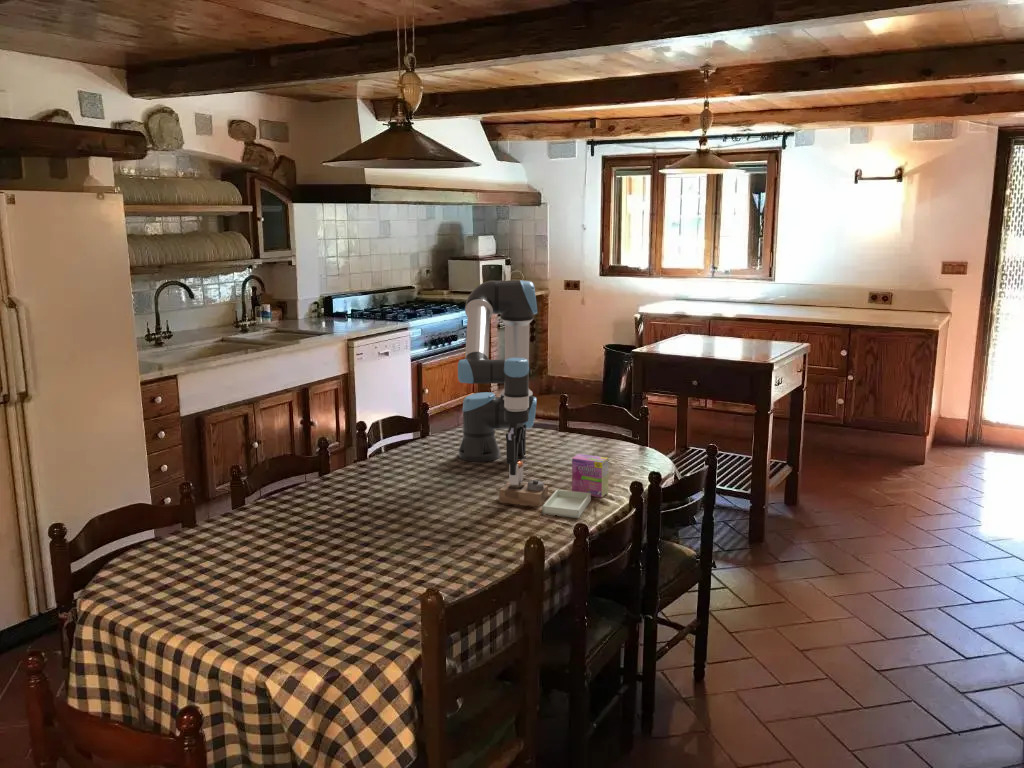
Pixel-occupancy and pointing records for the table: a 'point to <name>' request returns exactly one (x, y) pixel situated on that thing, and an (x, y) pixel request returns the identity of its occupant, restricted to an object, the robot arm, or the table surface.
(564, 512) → the tray
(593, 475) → the box
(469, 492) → the table surface
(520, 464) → the pin
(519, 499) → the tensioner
